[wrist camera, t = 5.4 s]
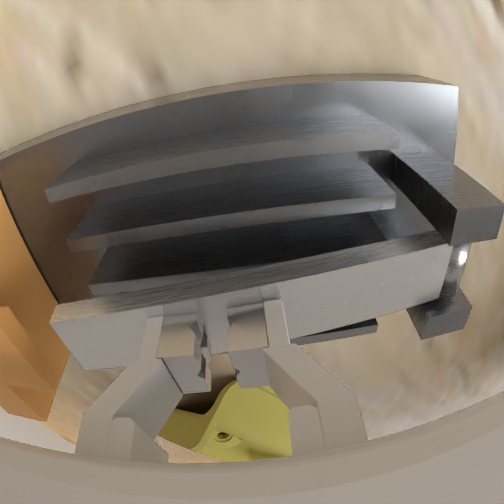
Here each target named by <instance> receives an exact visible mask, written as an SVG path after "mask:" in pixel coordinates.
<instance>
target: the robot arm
mask: <svg viewBox="0 0 504 504" xmlns="http://www.w3.org/2000/svg"><path fill="white" fill-rule="evenodd" d="M227 318H228V322H229V326H230V328H229V329H228V331H227V337H228V354H229V357H230V360H231V363H232V366H233V367H234V368H236V378H237V381H238V383H239V386H240V389H242V388H253V387H263V386H270V388H271V389H272V390H273V391H274V392H275V393H276V395H277V396H278V397H279V398H280V399H281V400H282V402H283V403H284V404H285V405H286V406H287V407H288V408H289V410H290V411H289V412H288V419H289V428H290V437H291V446H292V454H293V456H288V457H280V458H272V459H263V460H252V461H240V462H223V463H168V453H167V452H166V451H165V450H164V449H162V448H161V447H160V446H159V445H158V444H157V443H156V442H155V441H154V439H155V438H156V436H157V435H158V433H159V432H160V430H161V429H162V427H163V426H164V424H165V423H166V421H167V420H168V418H169V417H170V415H171V414H172V412H173V410H174V409H175V407H176V406H177V404H178V403H179V401H180V400H181V398H182V397H183V394H188V393H199V392H210V391H211V370H210V368H209V366H208V364H209V363H210V361H211V360H212V349H211V345H210V342H209V340H208V337H207V335H205V334H203V323H202V321H201V318H200V315H199V312H198V311H196V312H189V313H182V314H174V315H167V316H158V317H150V318H147V321H146V325H145V329H144V334H143V338H142V343H141V347H140V352H139V357H138V360H133V361H132V362H131V363H130V364H129V365H128V366H127V367H126V368H125V369H124V371H123V372H122V373H121V374H120V375H119V376H118V377H117V378H116V379H115V380H114V381H113V382H112V383H111V385H110V386H109V387H108V388H107V389H106V390H105V391H104V392H103V393H102V394H101V395H100V396H99V397H98V399H97V400H96V401H95V402H94V403H93V404H92V405H91V406H90V407H89V408H88V409H87V410H86V412H85V413H84V414H83V418H82V422H81V427H80V431H79V436H78V440H77V445H76V450H75V454H71V453H66V452H60V451H55V450H50V449H45V448H41V447H37V446H32V445H28V444H24V443H20V442H17V441H13V440H10V439H6V438H2V437H0V504H504V391H502V392H500V393H498V394H496V395H494V396H491V397H489V398H487V399H485V400H483V401H481V402H478V403H476V404H474V405H472V406H469V407H467V408H465V409H462V410H460V411H457V412H455V413H452V414H450V415H447V416H445V417H442V418H439V419H437V420H434V421H431V422H428V423H426V424H423V425H420V426H417V427H414V428H411V429H408V430H404V431H401V432H398V433H395V434H391V435H388V436H384V437H381V438H377V439H373V440H369V441H368V438H367V434H366V430H365V426H364V423H363V419H362V415H361V412H360V408H359V404H358V401H357V397H356V394H354V393H353V392H352V391H351V390H350V389H348V388H347V387H346V386H345V385H344V384H343V383H341V382H340V381H339V380H338V379H337V378H335V377H334V376H333V375H332V374H331V373H330V372H328V371H327V370H326V369H325V368H324V367H323V366H321V365H320V364H319V363H318V362H317V361H316V360H314V359H313V358H312V357H311V356H310V355H309V354H307V353H306V352H305V351H304V350H303V349H302V348H301V347H299V346H298V345H297V344H296V343H294V344H290V340H289V334H288V329H287V323H286V318H285V312H284V307H283V302H282V300H281V299H276V300H269V301H264V305H263V302H257V303H251V304H245V305H238V306H232V307H228V309H227Z"/></svg>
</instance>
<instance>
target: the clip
mask: <svg viewBox="0 0 504 504" xmlns="http://www.w3.org/2000/svg"><path fill="white" fill-rule="evenodd" d="M56 305H58V302H57V301H56V299H55V298H54V296H53V294H52V293H51V291H50V289H49V288H48V286H47V284H46V282H45V281H44V279H43V277H42V275H41V274H40V272H39V270H38V268H37V266H36V264H35V263H34V261H33V259H32V257H31V255H30V253H29V251H28V249H27V247H26V245H25V243H24V241H23V239H22V237H21V235H20V233H19V231H18V229H17V227H16V225H15V222H14V220H13V218H12V216H11V214H10V211H9V209H8V207H7V204H6V202H5V200H4V197H3V195H2V192H1V190H0V406H1V407H2V408H3V409H4V410H6V411H7V412H8V413H9V414H13V415H17V416H22V417H26V418H30V419H35V420H40V421H45V422H46V421H47V418H48V415H49V412H50V408H51V405H52V402H53V399H54V396H55V393H56V390H57V387H58V384H59V382H60V379H61V376H62V373H63V370H64V368H65V365H66V362H67V360H68V357H69V354H70V351H69V349H68V348H67V347H66V345H65V344H64V343H63V341H62V340H61V339H60V337H59V336H58V335H57V333H56V332H55V330H54V329H53V327H52V326H51V325H50V323H49V322H50V319H51V317H52V314H53V312H54V309H55V307H56Z"/></svg>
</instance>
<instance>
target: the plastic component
mask: <svg viewBox="0 0 504 504" xmlns="http://www.w3.org/2000/svg"><path fill="white" fill-rule="evenodd" d="M289 411H290V410H289V408H288V407H287V406H286V405H285V404H284V403H283V402H282V400H281V399H280V398H279V397H278V396H277V395H276V393H275V392H274V391H273V390H272V389H271V388H270V386H263V387H253V388H242V389H240V386H239V383H238V381H237V379H236V380H234V381H232V382H230V383H229V384H228V385H226V386H225V387H224V388H223V389H222V391H221V392H220V393H219V395H218V397H217V399H216V401H215V403H214V405H213V406H212V408H211V409H210V410H209V411H208V412H207V413H206V414H204V415H201V414H197V413H192V412H188V411H184V410H180V409H174V410H173V412H172V414H171V415H170V417H169V418H168V420H167V421H166V423H165V424H164V426H163V427H162V429H161V430H160V432H159V435H158V436H160V437H162V438H164V439H167V440H169V441H171V442H173V443H175V444H178V445H180V446H182V447H185V448H187V449H189V450H192V451H194V452H199V453H201V454H204V455H207V456H209V457H212V458H215V459H218V460H221V461H223V462H240V461H252V460H263V459H272V458H280V457H288V456H293V454H292V446H291V437H290V428H289V419H288V412H289Z"/></svg>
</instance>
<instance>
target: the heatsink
mask: <svg viewBox="0 0 504 504" xmlns="http://www.w3.org/2000/svg"><path fill="white" fill-rule="evenodd" d="M457 118H458V86H455V85H452V84H449V83H445V82H442V81H438V80H435V79H431V78H427V77H423V76H412V75H393V74H328V75H308V76H294V77H282V78H272V79H263V80H255V81H247V82H240V83H233V84H226V85H220V86H214V87H209V88H203V89H198V90H193V91H188V92H183V93H178V94H174V95H169V96H165V97H161V98H156V99H152V100H148V101H144V102H141V103H137V104H133V105H129V106H126V107H122V108H119V109H116V110H112V111H109V112H106V113H102V114H99V115H96V116H93V117H90V118H87V119H84V120H81V121H78V122H75V123H73V124H70V125H67V126H64V127H62V128H59V129H56V130H54V131H51V132H49V133H46V134H44V135H41V136H39V137H36V138H34V139H32V140H29V141H27V142H25V143H22V144H20V145H18V146H16V147H13V148H11V149H9V150H7V151H5V152H3V153H1V154H0V190H1V192H2V195H3V197H4V200H5V202H6V204H7V207H8V209H9V211H10V214H11V216H12V218H13V220H14V222H15V225H16V227H17V229H18V231H19V233H20V235H21V237H22V239H23V241H24V243H25V245H26V247H27V249H28V251H29V253H30V255H31V257H32V259H33V261H34V263H35V264H36V266H37V268H38V270H39V272H40V274H41V275H42V277H43V279H44V281H45V282H46V284H47V286H48V288H49V289H50V291H51V293H52V294H53V296H54V298H55V299H56V301H57V302H58V304H63V303H69V302H75V301H80V300H86V299H92V298H97V297H103V296H108V295H114V294H120V293H125V292H130V291H136V290H141V289H147V288H152V287H157V286H163V285H168V284H173V283H179V282H184V281H189V280H194V279H200V278H205V277H210V276H215V275H220V274H226V273H231V272H236V271H241V270H246V269H251V268H256V267H261V266H266V265H271V264H276V263H281V262H286V261H291V260H296V259H301V258H306V257H310V256H315V255H320V254H325V253H330V252H335V251H339V250H344V249H349V248H354V247H358V246H363V245H368V244H373V243H377V242H382V241H387V240H391V239H396V238H401V237H405V236H410V235H414V234H419V233H423V232H428V231H433V230H436V231H437V232H438V233H439V234H440V235H441V237H442V238H443V239H444V240H445V241H446V243H447V244H448V245H449V246H455V245H461V244H467V243H473V242H479V241H485V240H491V239H497V235H498V232H499V228H500V224H501V221H502V217H503V213H504V203H503V202H501V201H500V200H499V199H498V198H497V197H495V196H494V195H493V194H492V193H491V192H489V191H488V190H487V189H486V188H484V187H483V186H482V185H481V184H479V183H478V182H477V181H475V180H474V179H473V178H472V177H470V176H469V175H468V174H466V173H465V172H464V171H462V170H461V169H460V168H458V167H457V166H455V165H454V156H455V146H456V134H457ZM471 309H472V306H471V304H470V303H469V301H468V299H467V298H466V296H465V295H464V293H463V292H462V290H461V289H460V287H458V289H457V292H456V295H455V296H454V297H453V298H450V299H440V298H437V299H434V300H431V301H428V302H425V303H422V304H419V305H416V306H412V307H409V308H406V310H407V312H408V314H409V316H410V318H411V320H412V322H413V324H414V326H415V328H416V330H417V332H418V335H419V337H420V339H421V340H422V339H426V338H430V337H434V336H438V335H442V334H445V333H449V332H453V331H456V330H460V329H463V327H464V325H465V323H466V321H467V318H468V316H469V314H470V311H471ZM377 326H378V324H377V321H376V319H375V318H372V319H369V320H365V321H361V322H358V323H354V324H350V325H346V326H343V327H339V328H335V329H331V330H327V331H323V332H319V333H315V334H310V335H306V336H302V337H297V338H293V339H289V340H290V344H294V343H296V344H297V345H302V344H309V343H316V342H322V341H329V340H335V339H341V338H347V337H352V336H358V335H363V334H369V333H374V332H376V331H377ZM223 353H228V352H223ZM223 353H218V354H223Z"/></svg>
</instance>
